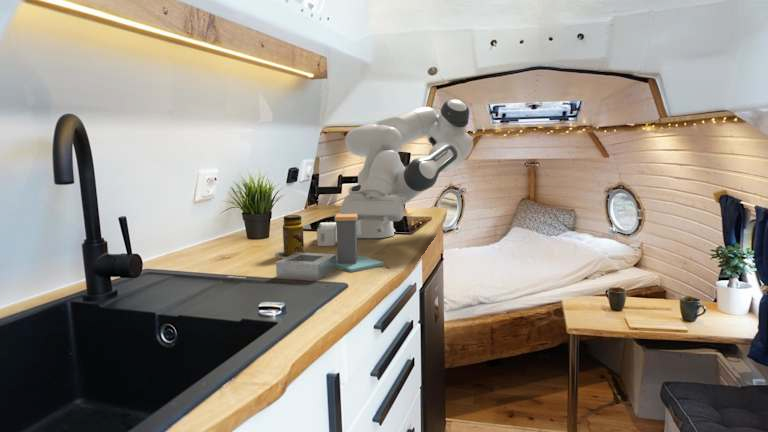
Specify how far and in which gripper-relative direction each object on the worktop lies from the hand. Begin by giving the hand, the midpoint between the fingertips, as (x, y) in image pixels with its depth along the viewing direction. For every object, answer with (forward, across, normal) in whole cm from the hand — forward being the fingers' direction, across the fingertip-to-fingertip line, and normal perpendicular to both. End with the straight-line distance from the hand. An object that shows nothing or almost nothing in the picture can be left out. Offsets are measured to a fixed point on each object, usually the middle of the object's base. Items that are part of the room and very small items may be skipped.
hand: (365, 230), depth 153 cm
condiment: (+11, +22, +1) cm, 24 cm away
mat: (+14, -3, +4) cm, 15 cm away
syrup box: (-1, +17, -7) cm, 19 cm away
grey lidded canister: (+13, 0, +5) cm, 14 cm away
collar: (+22, +5, +13) cm, 26 cm away
